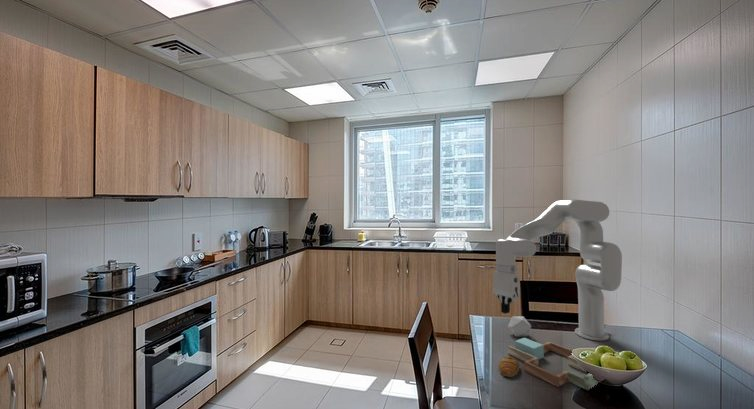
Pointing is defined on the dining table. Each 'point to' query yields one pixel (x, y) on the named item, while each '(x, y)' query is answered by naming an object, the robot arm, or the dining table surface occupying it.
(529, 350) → the teal block
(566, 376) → the wooden zigzag track
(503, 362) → the pastry
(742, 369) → the dining table surface
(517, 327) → the die
